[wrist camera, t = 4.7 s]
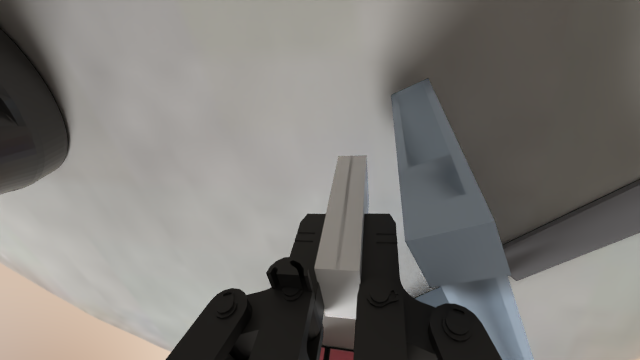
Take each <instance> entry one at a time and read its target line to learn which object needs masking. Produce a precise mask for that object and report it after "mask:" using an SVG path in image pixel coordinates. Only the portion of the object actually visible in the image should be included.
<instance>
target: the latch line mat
mask: <svg viewBox="0 0 640 360" xmlns="http://www.w3.org/2000/svg"><path fill="white" fill-rule="evenodd" d="M637 233H640V180H638V181H636V182H634V183H632V184H630V185H627V186H625V187H623V188H621V189H619V190H617V191H615V192H613V193H611V194H609V195H607V196H605V197H602V198H600V199H598V200H596V201H594V202H592V203H590V204H588V205H586V206H584V207H582V208H580V209H577V210H575V211H573V212H571V213H569V214H567V215H565V216H563V217H561V218H559V219H557V220H554V221H552V222H550V223H548V224H546V225H544V226H542V227H540V228H538V229H536V230H534V231H532V232H529V233H527V234H525V235H523V236H521V237H519V238H517V239H515V240H513V241H511V242H509V243H507V244H504V245H502V246H503V250H504V253H505V256H506V259H507V263H508V266H509V269H510V273H511V277H512V278H513V279H515V280H516V281H518V280H520V279H523V278H525V277H528V276H531V275H533V274H536V273H538V272H541V271H543V270H546V269H548V268H551V267H553V266H556V265H559V264H561V263H564V262H566V261H569V260H571V259H574V258H576V257H579V256H581V255H584V254H587V253H589V252H592V251H594V250H597V249H599V248H602V247H604V246H607V245H609V244H612V243H615V242H617V241H620V240H622V239H625V238H627V237H630V236H632V235H635V234H637Z"/></svg>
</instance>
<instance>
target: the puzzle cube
mask: <svg viewBox="0 0 640 360" xmlns="http://www.w3.org/2000/svg"><path fill="white" fill-rule="evenodd" d="M353 356H354V351H353V350H346V349H340V348H333V347H330V348H329V349H327V347H326V346H322V347H321V353H320V360H353Z"/></svg>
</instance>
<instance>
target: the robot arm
mask: <svg viewBox="0 0 640 360" xmlns="http://www.w3.org/2000/svg"><path fill="white" fill-rule="evenodd" d="M67 147H68V140H67V132H66V128H65V124H64V121H63V118H62V116H61V113H60V111H59V108H58V106H57V104H56V102H55V100H54V98H53V96H52V94H51V93H50V91H49V89H48V87H47V86H46V84H45V83H44V81H43V80H42V78H41V77H40V75H39V74H38V72H37V71H36V69H35V68H34V67H33V65H32V64H31V63H30V62H29V60H28V59H27V58H26V57H25V55H24V54H23V53H22V52H21V50H20V49H19V48H18V47H17V46H16V45H15V44H14V42H13V41H12V40H11V39H10V38H9V37H8V36H7V35H6V34H5V33H4V32H3V31H2V30H1V29H0V194H3V193H6V192H10V191H15V190H18V189H21V188H24V187H27V186H29V185H31V184H33V183H35V182H36V181H38V180H40V179H41V178H43V177H45V176H46V175H48V174H50V173H51V172H53V171H55V170H56V169H57V168H59V167H60V166H61V164H62V163H63V161H64V159H65V157H66V154H67ZM368 205H369V195H368V176H367V156H366V155H364V156H338V161H337V166H336V170H335V175H334V179H333V184H332V189H331V193H330V198H329V203H328V207H327V212H326V214H307V215H306V217H305V218H304V219H303V220H302V221H301V222H300V225H299V229H298V232H297V235H296V238H295V242H294V245H293V248H292V251H291V254H290V257H286V258H282V259H280V260H278V261H276V262H275V263H274V264H273V265H271V266H270V268H269V269H268V271H267V273H266V274H267V276H268V279H269V281H270V284H271V286H272V287H271V288H270V289H267V290H265V291H261V292H257V293H253V294H249V295H245V293H244V292H243V291H241V290H240V289H234V288H231V289H227V290H224V291H222V292H221V293H219V294H217V295H216V296H215V297H214V298H213V299H212V300H211V301H210V302H209V304H208V305H207V306H206V308H205V309H204V310H203V312H202V313H201V314H200V315H199V317H198V318H197V319H196V321H195V322H194V323H193V325H192V326H191V327H190V329H189V330H188V331H187V332H186V334H185V335H184V336H183V338H182V339H181V340H180V342H179V343H178V344H177V345H176V347H175V348H174V349H173V351H172V352H171V354H170V355H169V356H168V358H167V359H166V360H320V353H321V347H322V340H323V324H322V320H323V314H324V311H325V315H326V316H327V317H338V318H348V319H356V323H355V340H354V356H353V360H502V358H501V356H500V355H499V353H498V351H497V349H496V347H495V346H494V344H493V342H492V340H491V339H490V337H489V335H488V333H487V331H486V330H485V328H484V326H483V324H482V323H481V321H480V320H479V319H478V318H477V316H476V315H475V314H474V313H473V312H471V311H470V310H468V309H467V308H466V307H463V306H460V305H458V304H451V303H445V304H442V305H439V306H437V307H433V306H431V305H428V304H425V303H423V302H420V301H418V300H416V299H414V298H413V297H412V296H410V295H409V294H408V293H407V292H406V291H405V290H404V288H403V286H402V284H401V281H400V275H399V262H398V248H397V236H396V223H395V221H394V220H393V218H392V217H391V215H390V214H368Z"/></svg>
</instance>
